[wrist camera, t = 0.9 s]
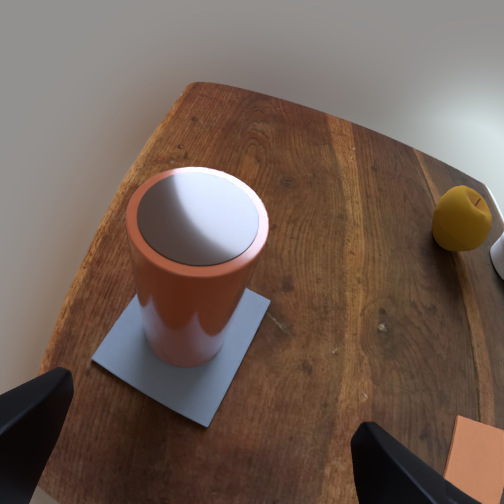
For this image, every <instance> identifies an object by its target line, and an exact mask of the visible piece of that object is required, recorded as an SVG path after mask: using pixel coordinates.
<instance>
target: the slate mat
mask: <svg viewBox="0 0 504 504" xmlns="http://www.w3.org/2000/svg"><path fill="white" fill-rule="evenodd" d="M270 302H271V301H270V300H268V299H266V298H264V297H262V296H260V295H258V294H256V293H254V292H252V291H250V290H248V289H246V291H245V294H244V296H243V298H242V300H241V303H240V305H239V307H238V310H237V312H236V314H235V316H234V319H233V321H232V323H231V325H230V328H229V330H228V332H227V335H226V337H225V339H224V341H223V344H222V346H221V348H220V350H219V351H218V353H217V354H216V355H215V356H214V357H213V358H212V359H211V360H210V361H208V362H207V363H205V364H203V365H200V366H197V367H192V368H180V367H175V366H172V365H169V364H167V363H165V362H164V361H162V360H161V359H160V358H158V357H157V356H156V355H155V354H154V352H153V351H152V350H151V348H150V346H149V344H148V342H147V339H146V334H145V330H144V326H143V321H142V317H141V312H140V307H139V302H138V297H137V294H136V295H135V296H134V298H133V299H132V301H131V302H130V303H129V305H128V306H127V308H126V309H125V310H124V312H123V313H122V315H121V316H120V317H119V319H118V320H117V322H116V323H115V325H114V326H113V327H112V329H111V330H110V332H109V333H108V335H107V336H106V337H105V339H104V340H103V342H102V343H101V345H100V346H99V348H98V349H97V351H96V352H95V354H94V355H93V357H92V360H94V361H95V362H96V363H98V364H99V365H101V366H102V367H104V368H105V369H107V370H108V371H109V372H111V373H112V374H114V375H115V376H117V377H118V378H120V379H122V380H123V381H125V382H126V383H128V384H129V385H131V386H133V387H134V388H136V389H137V390H139V391H141V392H142V393H144V394H146V395H147V396H149V397H151V398H152V399H154V400H156V401H158V402H159V403H161V404H163V405H165V406H166V407H168V408H170V409H172V410H174V411H175V412H177V413H179V414H181V415H183V416H185V417H187V418H189V419H190V420H192V421H194V422H196V423H198V424H200V425H202V426H204V427H206V428H207V427H208V426H209V424H210V422H211V420H212V418H213V416H214V414H215V413H216V411H217V409H218V407H219V405H220V403H221V401H222V399H223V397H224V395H225V393H226V391H227V389H228V387H229V385H230V383H231V381H232V379H233V377H234V375H235V373H236V371H237V369H238V367H239V365H240V363H241V361H242V359H243V357H244V355H245V353H246V351H247V349H248V347H249V345H250V343H251V341H252V339H253V337H254V335H255V333H256V331H257V329H258V327H259V325H260V323H261V320H262V318H263V316H264V314H265V312H266V310H267V308H268V306H269V304H270Z"/></svg>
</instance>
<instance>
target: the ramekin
mask: <svg viewBox="0 0 504 504" xmlns="http://www.w3.org/2000/svg"><path fill="white" fill-rule="evenodd" d="M490 254H491V259H492V262H493V265H494V267H495V269H496V271H497V272H498V274H499V275H500V277H501V278H502V279H503V280H504V232H503V233H502V235H501V237H500V238H499V239H498V240H497V241H496V242H495V244H494V245H493V246H492V247H491V251H490Z"/></svg>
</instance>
